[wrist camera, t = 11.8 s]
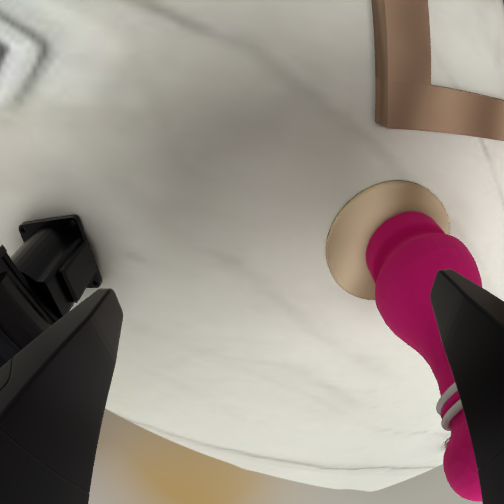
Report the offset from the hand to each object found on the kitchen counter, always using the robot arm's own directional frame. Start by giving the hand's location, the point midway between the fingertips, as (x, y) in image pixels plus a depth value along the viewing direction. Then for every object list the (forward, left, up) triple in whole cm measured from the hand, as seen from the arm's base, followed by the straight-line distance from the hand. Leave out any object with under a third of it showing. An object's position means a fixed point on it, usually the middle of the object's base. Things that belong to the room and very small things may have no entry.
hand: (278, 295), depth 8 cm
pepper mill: (+10, -7, -12) cm, 17 cm away
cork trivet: (+9, -7, -13) cm, 17 cm away
